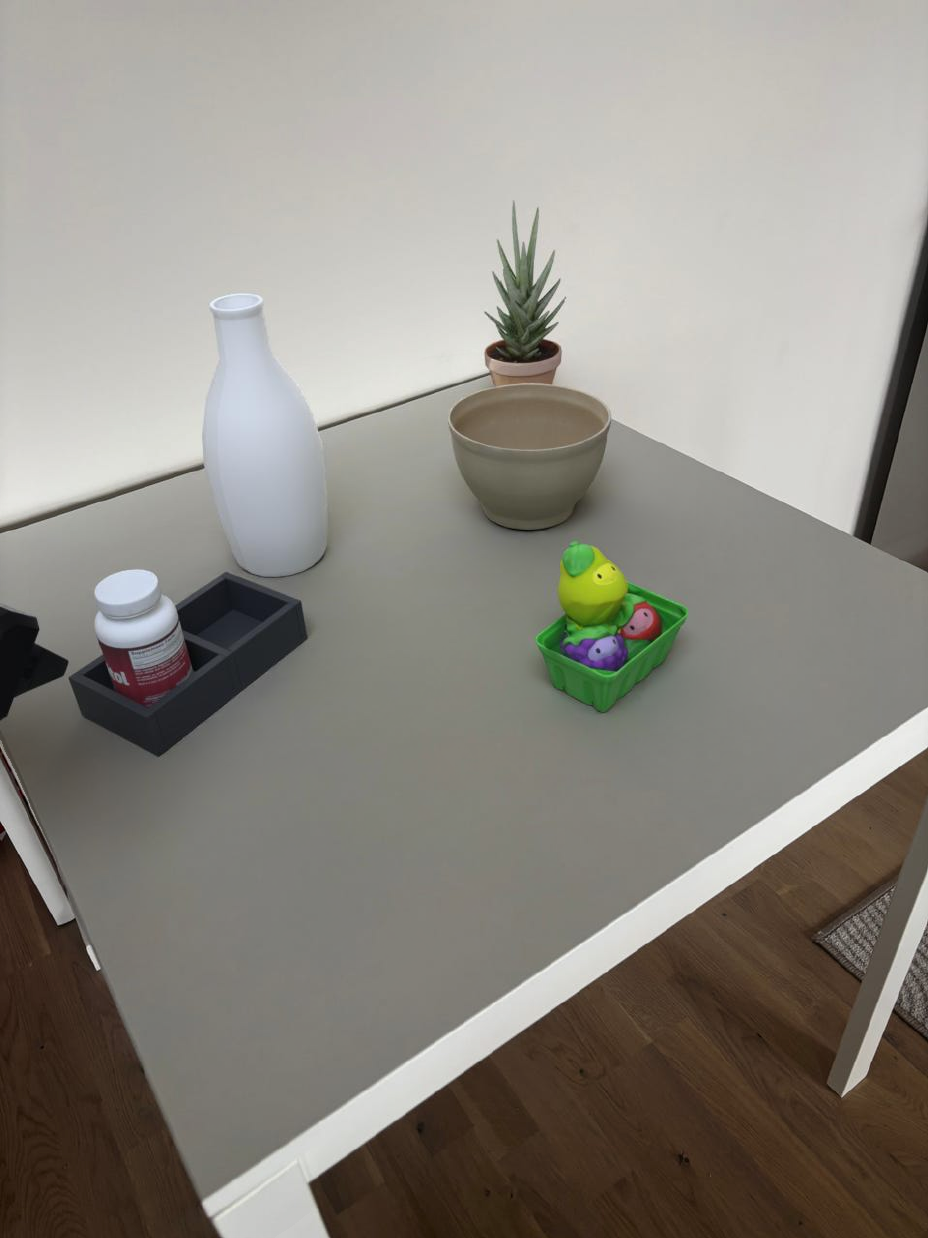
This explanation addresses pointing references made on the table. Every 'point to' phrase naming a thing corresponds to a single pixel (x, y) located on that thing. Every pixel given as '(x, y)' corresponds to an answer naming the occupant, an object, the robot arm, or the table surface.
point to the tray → (200, 662)
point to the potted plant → (523, 320)
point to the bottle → (262, 449)
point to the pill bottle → (140, 636)
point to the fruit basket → (605, 630)
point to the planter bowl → (529, 450)
